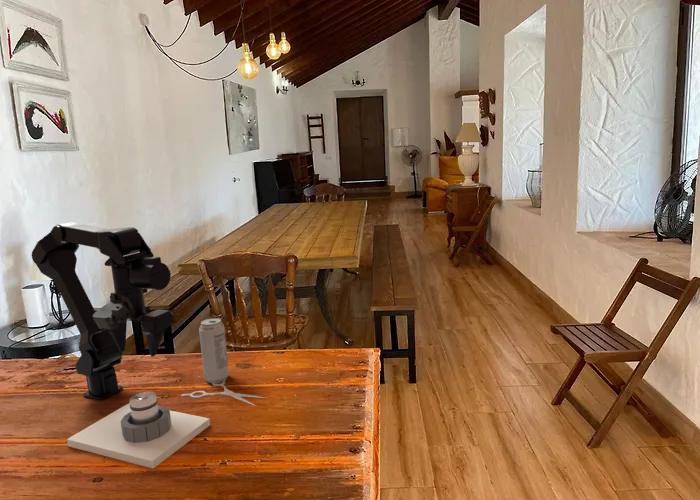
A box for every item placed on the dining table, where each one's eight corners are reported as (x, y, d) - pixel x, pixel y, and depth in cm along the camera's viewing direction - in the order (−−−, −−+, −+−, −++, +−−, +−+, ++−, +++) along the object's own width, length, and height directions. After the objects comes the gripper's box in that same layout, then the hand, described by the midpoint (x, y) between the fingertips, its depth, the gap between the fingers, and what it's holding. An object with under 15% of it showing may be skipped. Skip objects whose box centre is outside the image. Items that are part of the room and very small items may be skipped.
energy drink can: (214, 372, 137) (208, 316, 134) (234, 375, 134) (228, 318, 131) (199, 382, 131) (192, 324, 128) (219, 385, 129) (213, 326, 126)
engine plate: (68, 446, 105) (64, 425, 104) (130, 408, 119) (128, 389, 119) (153, 468, 96) (150, 445, 95) (210, 425, 110) (207, 404, 110)
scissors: (212, 377, 133) (277, 390, 124) (213, 379, 134) (277, 393, 124) (180, 395, 124) (247, 411, 115) (180, 398, 125) (247, 414, 115)
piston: (127, 434, 106) (123, 401, 104) (147, 421, 110) (143, 390, 109) (147, 438, 103) (143, 405, 102) (166, 425, 108) (162, 393, 107)
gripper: (66, 293, 113) (77, 362, 116) (131, 299, 105) (141, 373, 108) (108, 280, 123) (117, 344, 126) (171, 284, 115) (179, 353, 118)
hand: (137, 353), depth 119 cm, fingers open, 9 cm apart
